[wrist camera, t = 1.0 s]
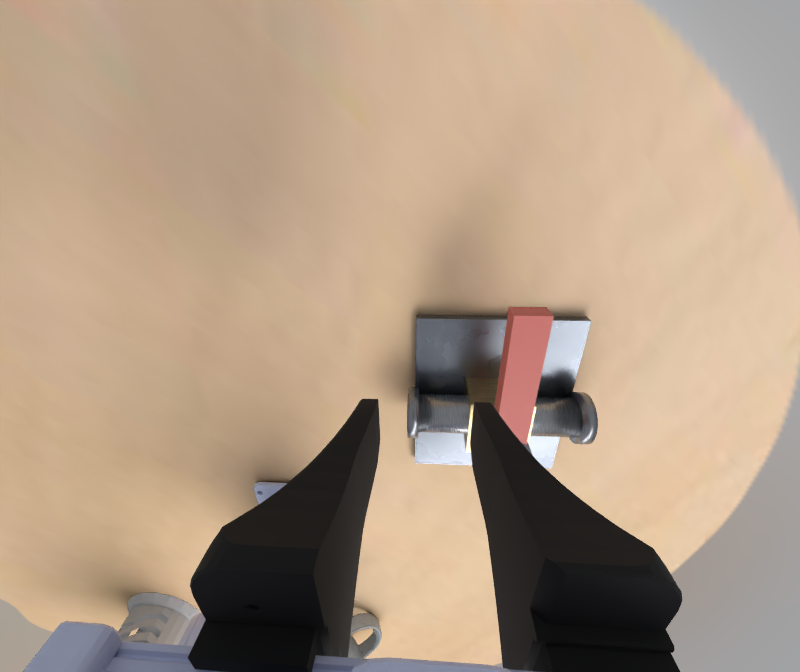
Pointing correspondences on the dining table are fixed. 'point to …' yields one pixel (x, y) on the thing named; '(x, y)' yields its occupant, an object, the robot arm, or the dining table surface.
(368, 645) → the ceramic mug
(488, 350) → the valve assembly
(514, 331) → the valve lever
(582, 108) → the dining table surface
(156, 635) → the french press
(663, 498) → the dining table surface
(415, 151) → the dining table surface
